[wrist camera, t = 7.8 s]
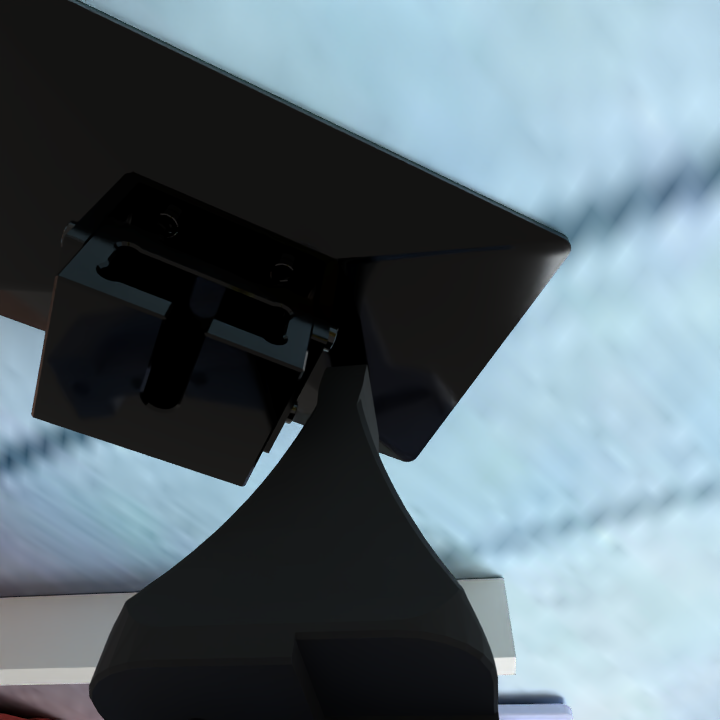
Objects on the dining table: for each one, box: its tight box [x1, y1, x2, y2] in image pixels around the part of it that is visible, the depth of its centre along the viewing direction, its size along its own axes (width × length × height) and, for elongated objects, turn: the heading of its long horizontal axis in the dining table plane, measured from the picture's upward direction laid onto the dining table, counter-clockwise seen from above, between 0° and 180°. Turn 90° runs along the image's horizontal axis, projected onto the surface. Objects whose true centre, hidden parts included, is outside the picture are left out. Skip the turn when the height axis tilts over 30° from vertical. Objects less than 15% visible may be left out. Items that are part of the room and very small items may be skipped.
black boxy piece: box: [0, 0, 571, 486], centre depth 11 cm, size 12×7×5 cm, turn 65°
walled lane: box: [0, 578, 516, 685], centre depth 14 cm, size 20×22×4 cm
